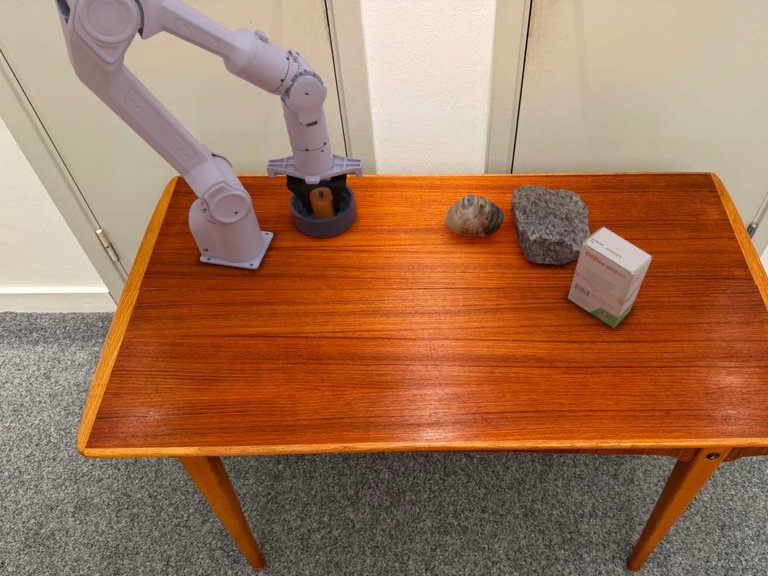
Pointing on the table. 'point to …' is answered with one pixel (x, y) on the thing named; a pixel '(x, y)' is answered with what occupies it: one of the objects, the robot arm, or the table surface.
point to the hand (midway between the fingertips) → (324, 208)
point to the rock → (549, 223)
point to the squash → (322, 203)
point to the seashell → (474, 217)
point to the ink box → (608, 276)
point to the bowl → (324, 226)
